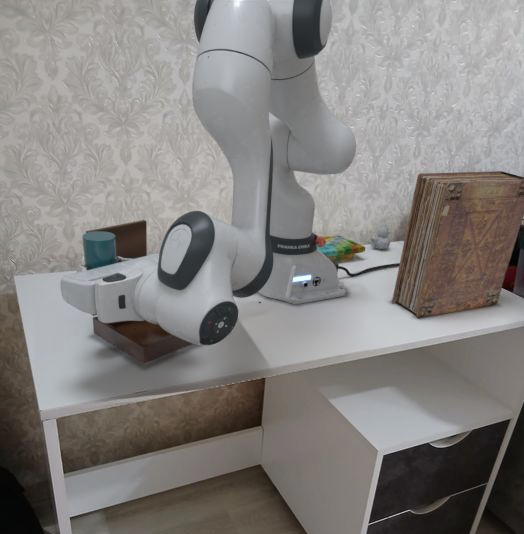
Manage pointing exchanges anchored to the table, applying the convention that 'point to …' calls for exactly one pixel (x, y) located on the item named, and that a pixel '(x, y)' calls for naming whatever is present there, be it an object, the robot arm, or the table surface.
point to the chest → (139, 338)
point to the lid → (129, 239)
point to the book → (459, 241)
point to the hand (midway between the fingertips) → (97, 265)
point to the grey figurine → (381, 238)
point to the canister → (99, 249)
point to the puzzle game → (340, 248)
